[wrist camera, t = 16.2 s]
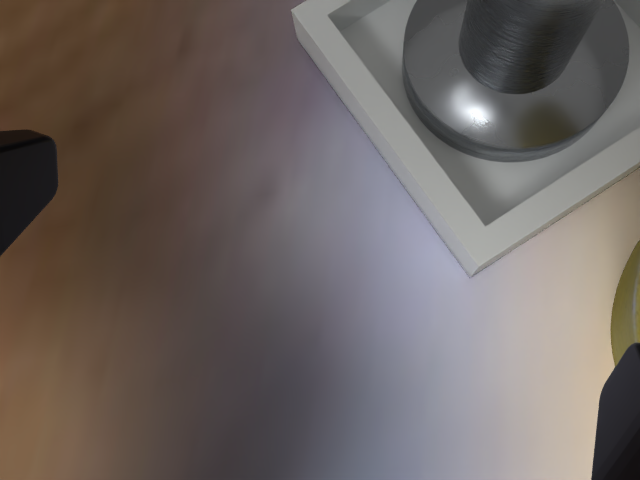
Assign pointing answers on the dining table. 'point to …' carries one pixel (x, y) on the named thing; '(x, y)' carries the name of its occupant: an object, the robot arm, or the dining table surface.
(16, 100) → the dining table surface
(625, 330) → the flower pot
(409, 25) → the steel stop
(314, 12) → the tray
